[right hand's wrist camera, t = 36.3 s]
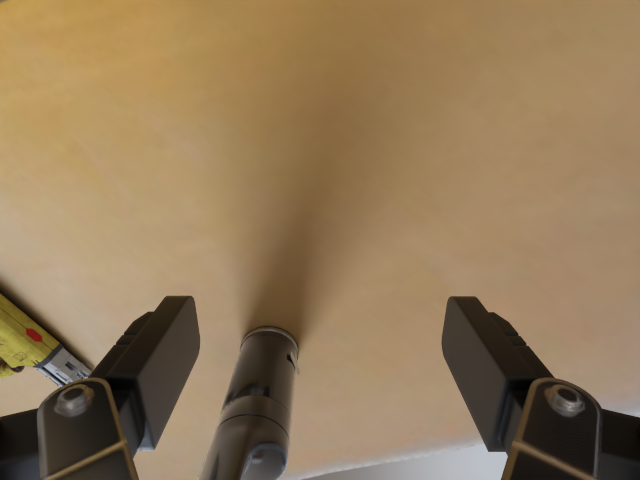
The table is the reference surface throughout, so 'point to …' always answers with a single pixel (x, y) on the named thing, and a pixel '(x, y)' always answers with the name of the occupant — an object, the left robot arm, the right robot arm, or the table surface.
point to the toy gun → (34, 348)
